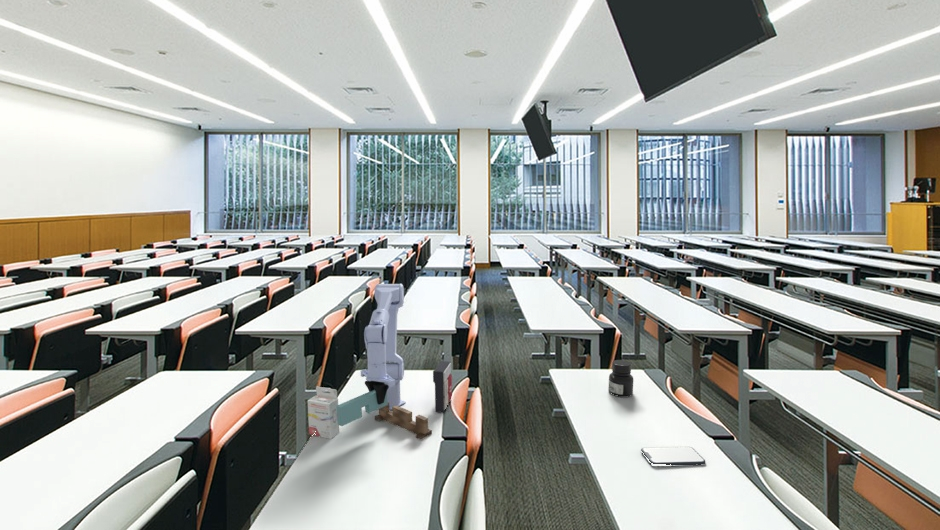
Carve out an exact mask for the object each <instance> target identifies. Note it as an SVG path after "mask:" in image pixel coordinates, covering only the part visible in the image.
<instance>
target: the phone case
mask: <svg viewBox="0 0 940 530" xmlns="http://www.w3.org/2000/svg"><path fill="white" fill-rule="evenodd" d="M641 451H642V452H643V453H644V455H645V456H646V457H647V458H648V459H649V461H650V462H651V463H653V464H666V465H670V464H671V465H693V466H702V465H701V464H705V465H706V459H704V457H703V456H701V454H699V452H697V450H696V449H695V448H693V447H691V446H661V447H659V446H658V447H657V446H656V447H641V449H640V452H641ZM696 464H698V465H696Z"/></svg>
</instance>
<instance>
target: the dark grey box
mask: <svg viewBox="0 0 940 530" xmlns="http://www.w3.org/2000/svg"><path fill="white" fill-rule="evenodd" d="M452 375H453V374H452V363H451V361H444V360H441V361H439V363H438V365H436V367H435V368H434V370H433V371H432V380H433V381H432V382H433V383H434V406H435V407H434V408H435V409H434V410H435V412H436V413H444V412H445V411H444V410H445V409H446V407H447V405H448V406H449V404H450V403H449V401H450V399H451V396H452V397H453V394H452V393H453V391H452V390H453V389H452V388H453V386H452V383H453V381H452V380H453V379H452ZM448 403H449V404H448ZM447 408H448V407H447ZM446 410H447V409H446Z"/></svg>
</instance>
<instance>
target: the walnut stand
mask: <svg viewBox="0 0 940 530" xmlns="http://www.w3.org/2000/svg"><path fill="white" fill-rule="evenodd" d="M377 411H378V414H377V415H374V420H375V421H377V422H380V421H382V420H383V421H385V422H387V423H389V424H392V425H395V426H397V427H399V428H401V429H403V430H406V431H408V432H411V433H412V434H415V435H416V436H415V437H416V439H417V440H420V441H422V440H423V439H425V438H427V437H429V436H431V435H432V434H433V430H432V429H430V428H429V418H428V417H426V416H424V415H421V414H418V415H416V416H415V421H414V420H413V411H412V410H409V409H406V408H403V407H401V406H396V405H395V406H393V407H392V411H391V410H390V407H389V402H388V405H386V406H384V407H382V408H380V409H378V410H377Z"/></svg>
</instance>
